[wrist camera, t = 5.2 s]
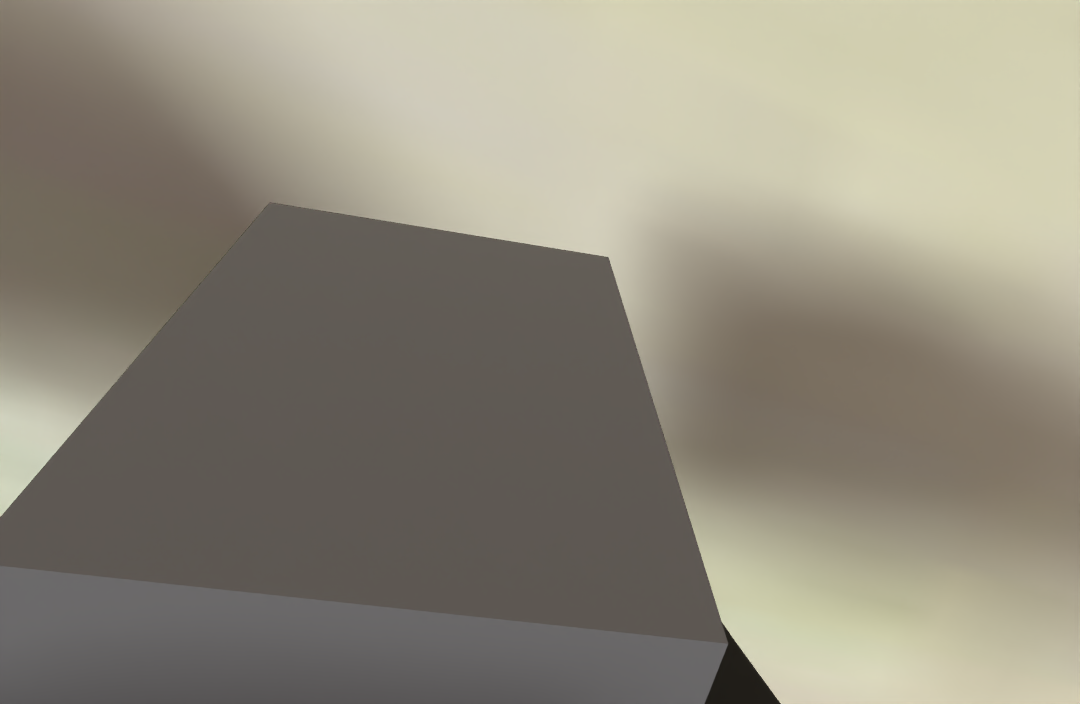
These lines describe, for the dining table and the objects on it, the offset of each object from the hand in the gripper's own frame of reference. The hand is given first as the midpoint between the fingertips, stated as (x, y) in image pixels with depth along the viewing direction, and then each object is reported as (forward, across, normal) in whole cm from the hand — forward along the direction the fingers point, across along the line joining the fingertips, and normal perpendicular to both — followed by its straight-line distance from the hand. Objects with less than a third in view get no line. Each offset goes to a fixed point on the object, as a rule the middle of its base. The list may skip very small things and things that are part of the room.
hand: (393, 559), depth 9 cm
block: (+2, 0, 0) cm, 3 cm away
